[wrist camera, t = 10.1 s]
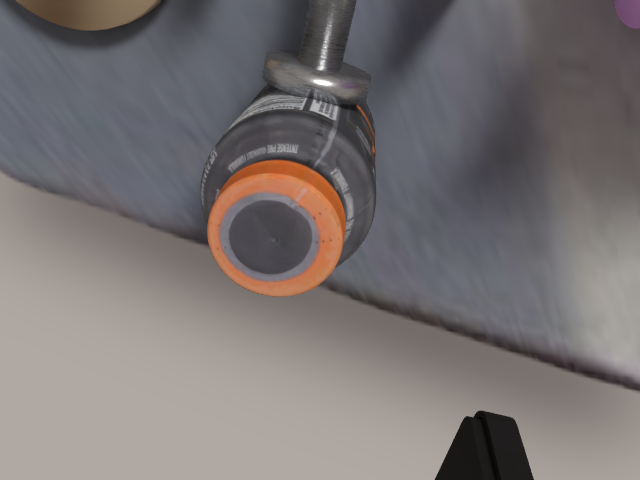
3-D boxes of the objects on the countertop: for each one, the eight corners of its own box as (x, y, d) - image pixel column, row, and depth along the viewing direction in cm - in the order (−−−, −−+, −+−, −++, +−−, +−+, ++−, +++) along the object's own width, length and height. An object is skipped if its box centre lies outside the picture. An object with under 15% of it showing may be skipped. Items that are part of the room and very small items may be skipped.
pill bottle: (365, 198, 27) (360, 340, 17) (246, 182, 27) (172, 314, 17) (384, 74, 24) (392, 157, 14) (251, 58, 24) (167, 128, 14)
